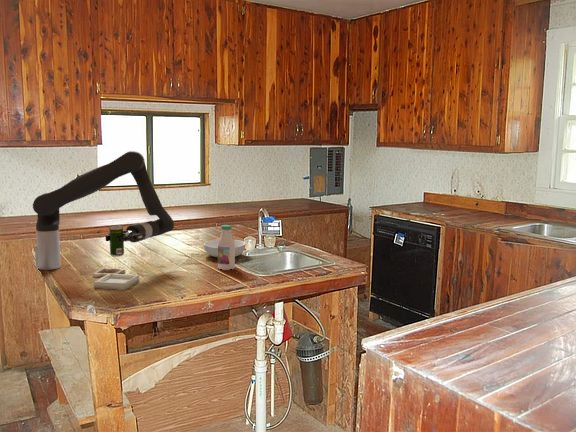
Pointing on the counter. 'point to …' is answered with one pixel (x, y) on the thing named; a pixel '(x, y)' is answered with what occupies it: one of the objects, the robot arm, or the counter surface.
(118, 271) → the collar
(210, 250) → the serving bowl
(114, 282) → the tray
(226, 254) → the milk bottle
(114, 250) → the beer can
